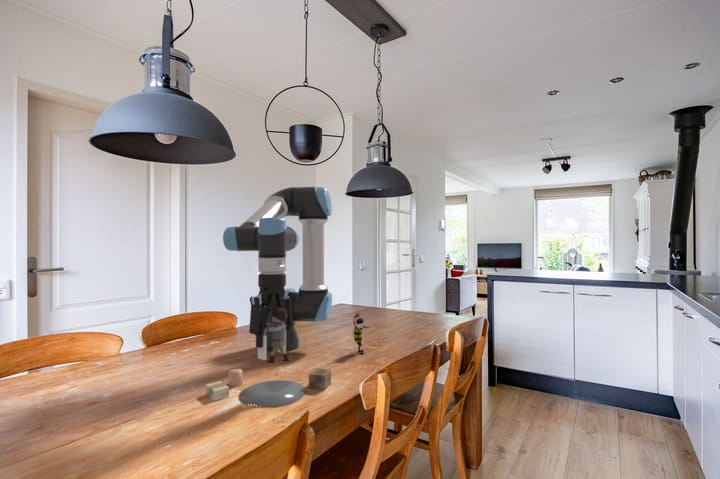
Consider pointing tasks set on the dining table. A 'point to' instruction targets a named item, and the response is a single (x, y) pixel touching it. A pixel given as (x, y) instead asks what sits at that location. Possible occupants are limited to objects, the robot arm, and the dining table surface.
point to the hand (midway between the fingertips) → (272, 355)
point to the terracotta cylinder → (235, 377)
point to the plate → (272, 393)
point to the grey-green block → (217, 390)
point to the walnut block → (320, 379)
